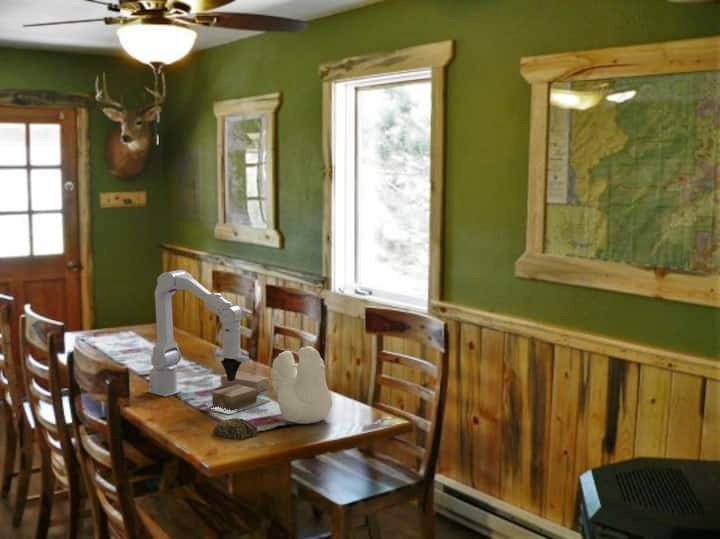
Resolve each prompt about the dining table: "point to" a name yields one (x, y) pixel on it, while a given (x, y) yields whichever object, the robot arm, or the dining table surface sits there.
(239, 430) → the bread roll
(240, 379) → the brick
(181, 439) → the dining table surface
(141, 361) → the dining table surface
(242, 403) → the block
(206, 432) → the dining table surface
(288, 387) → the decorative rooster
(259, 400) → the spiral notebook
